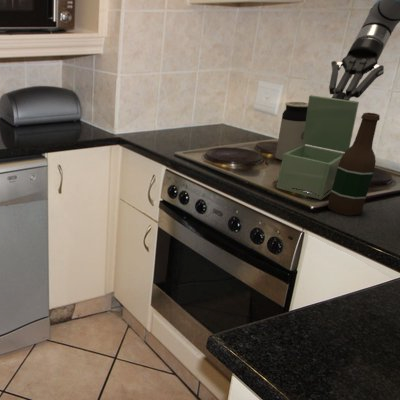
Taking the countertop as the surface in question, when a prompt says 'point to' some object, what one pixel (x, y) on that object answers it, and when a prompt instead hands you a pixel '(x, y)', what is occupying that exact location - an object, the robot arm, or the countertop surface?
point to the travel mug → (291, 128)
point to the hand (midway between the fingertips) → (332, 114)
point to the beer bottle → (355, 170)
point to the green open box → (309, 171)
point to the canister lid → (330, 123)
